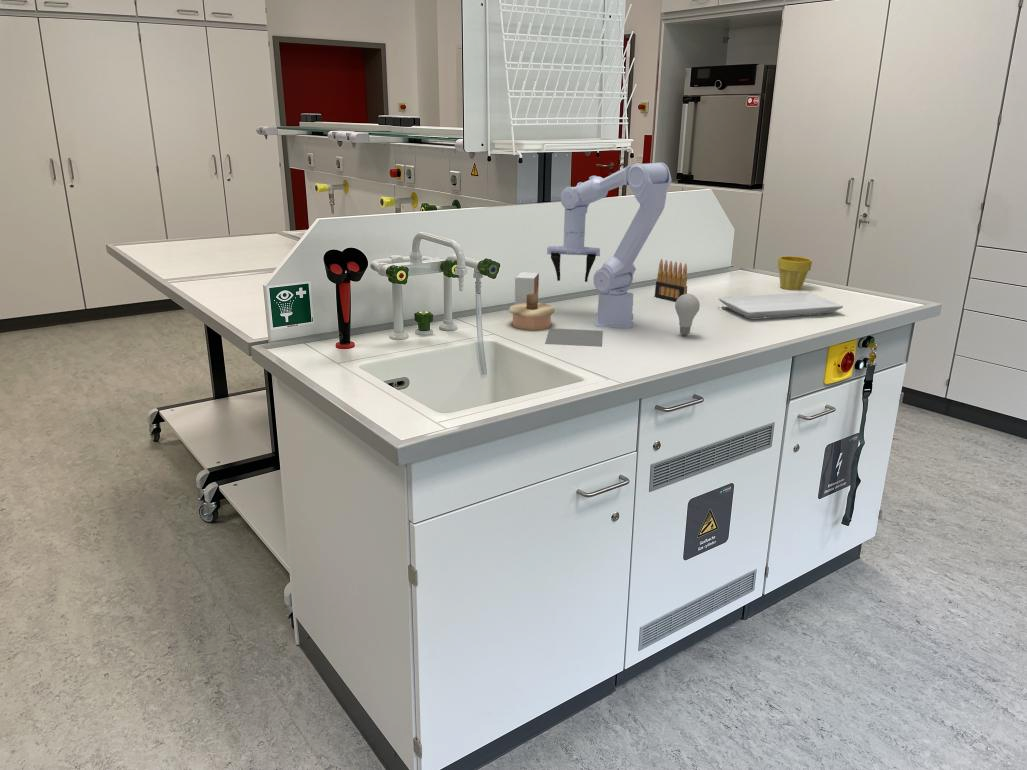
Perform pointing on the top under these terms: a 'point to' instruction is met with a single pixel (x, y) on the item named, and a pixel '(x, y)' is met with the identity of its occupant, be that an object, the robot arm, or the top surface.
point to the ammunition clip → (671, 281)
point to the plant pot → (793, 271)
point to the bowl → (531, 322)
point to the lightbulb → (686, 311)
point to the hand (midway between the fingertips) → (572, 280)
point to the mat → (574, 337)
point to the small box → (525, 286)
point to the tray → (780, 305)
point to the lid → (532, 308)
